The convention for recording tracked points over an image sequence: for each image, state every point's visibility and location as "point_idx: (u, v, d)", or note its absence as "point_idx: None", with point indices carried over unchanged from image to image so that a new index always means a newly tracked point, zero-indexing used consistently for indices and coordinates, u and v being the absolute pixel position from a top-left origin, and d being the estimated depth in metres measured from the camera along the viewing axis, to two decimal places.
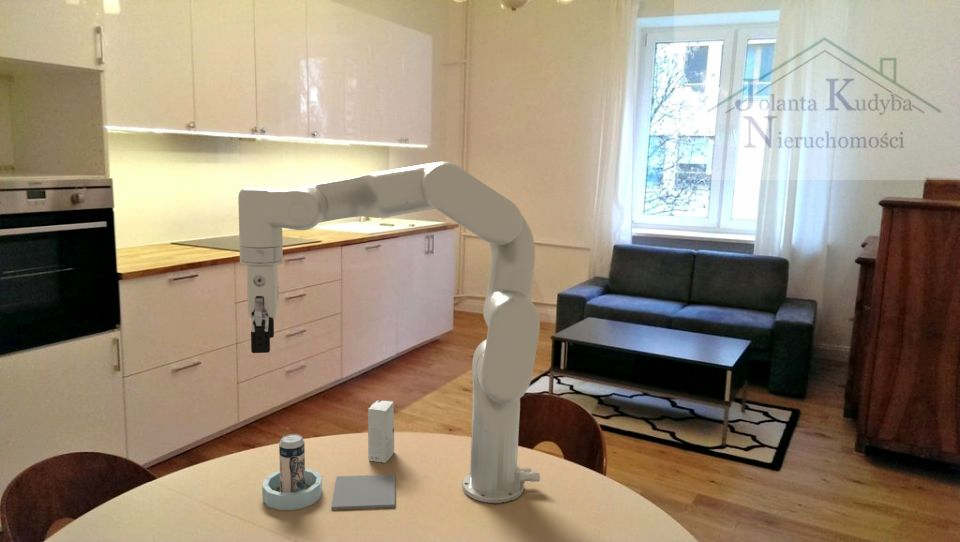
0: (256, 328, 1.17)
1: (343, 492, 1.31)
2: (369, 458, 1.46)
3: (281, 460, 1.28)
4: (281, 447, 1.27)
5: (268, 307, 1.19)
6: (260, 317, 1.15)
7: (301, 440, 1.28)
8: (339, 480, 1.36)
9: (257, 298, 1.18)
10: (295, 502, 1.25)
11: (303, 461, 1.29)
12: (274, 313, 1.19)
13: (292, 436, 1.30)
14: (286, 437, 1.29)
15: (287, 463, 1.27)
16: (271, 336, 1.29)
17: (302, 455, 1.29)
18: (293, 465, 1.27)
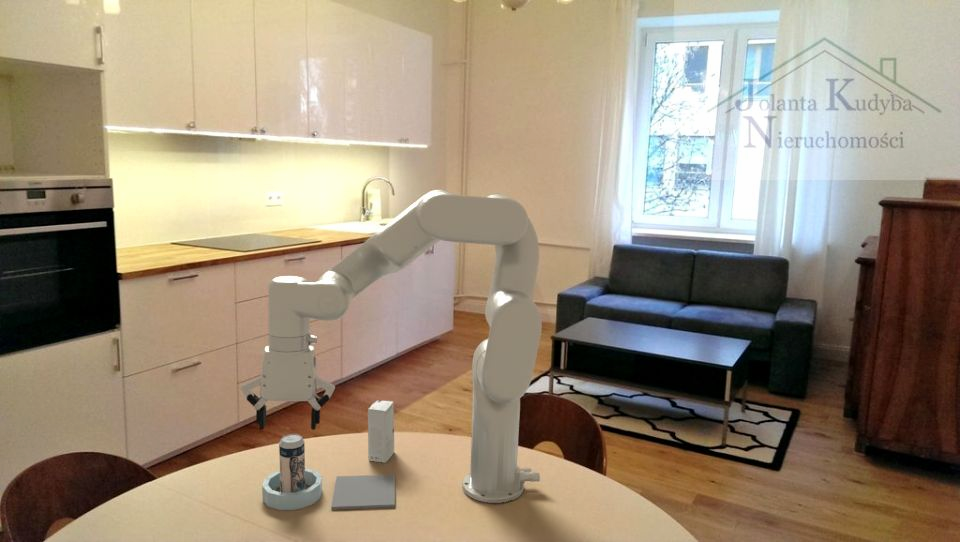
0: (324, 403, 1.28)
1: (343, 492, 1.31)
2: (369, 458, 1.46)
3: (281, 460, 1.28)
4: (281, 447, 1.27)
5: None
6: None
7: (301, 440, 1.28)
8: (339, 480, 1.36)
9: (315, 377, 1.27)
10: (295, 502, 1.25)
11: (303, 461, 1.29)
12: (315, 387, 1.30)
13: (292, 436, 1.30)
14: (286, 437, 1.29)
15: (287, 463, 1.27)
16: (265, 423, 1.29)
17: (302, 455, 1.29)
18: (293, 465, 1.27)
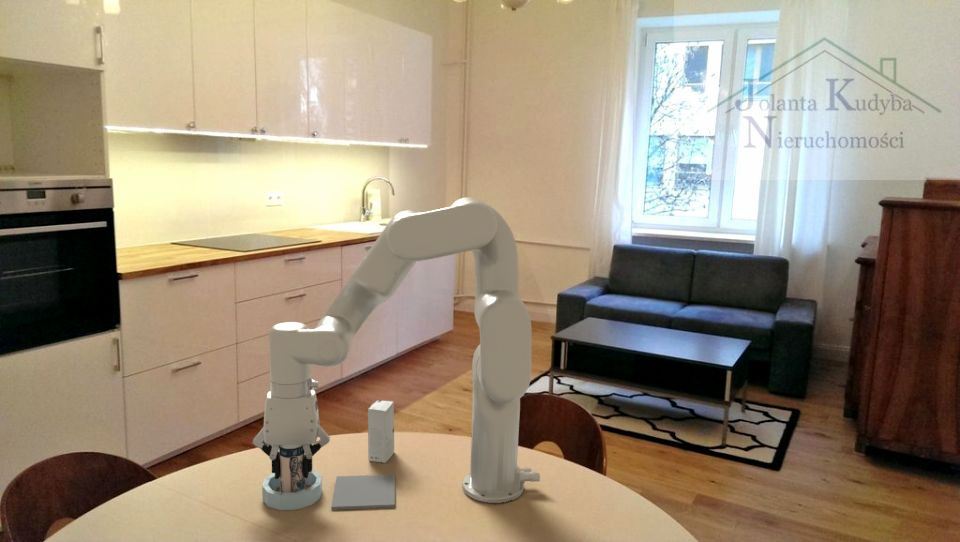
0: None
1: (343, 492, 1.31)
2: (369, 458, 1.46)
3: (281, 460, 1.28)
4: (281, 447, 1.27)
5: None
6: None
7: None
8: (339, 480, 1.36)
9: (317, 424, 1.28)
10: (295, 502, 1.25)
11: None
12: None
13: None
14: None
15: (287, 463, 1.27)
16: None
17: (302, 455, 1.29)
18: (293, 465, 1.27)
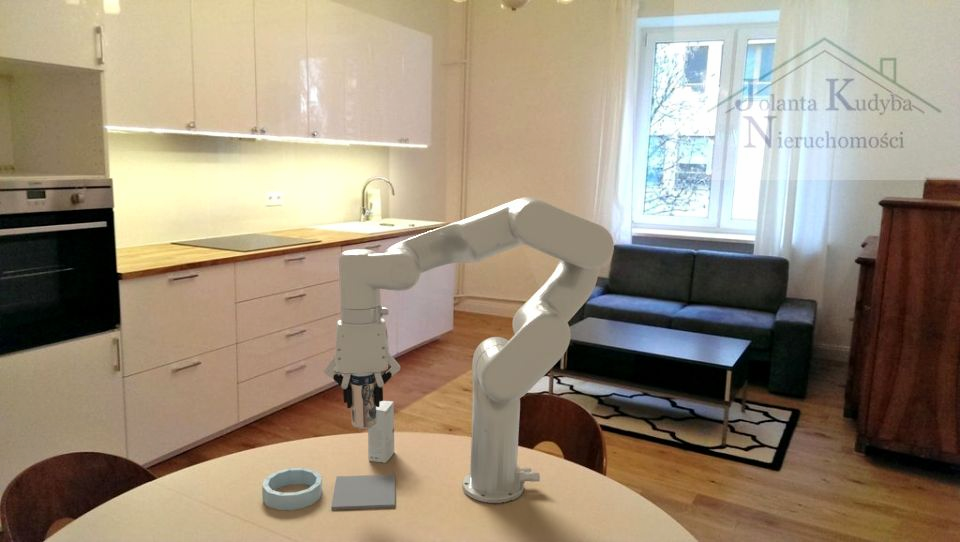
0: None
1: (343, 492, 1.31)
2: (369, 458, 1.46)
3: (353, 388, 1.27)
4: (353, 375, 1.26)
5: None
6: None
7: None
8: (339, 480, 1.36)
9: (387, 352, 1.28)
10: (295, 502, 1.25)
11: (374, 390, 1.28)
12: None
13: None
14: None
15: (359, 391, 1.26)
16: None
17: (373, 383, 1.28)
18: (365, 393, 1.26)
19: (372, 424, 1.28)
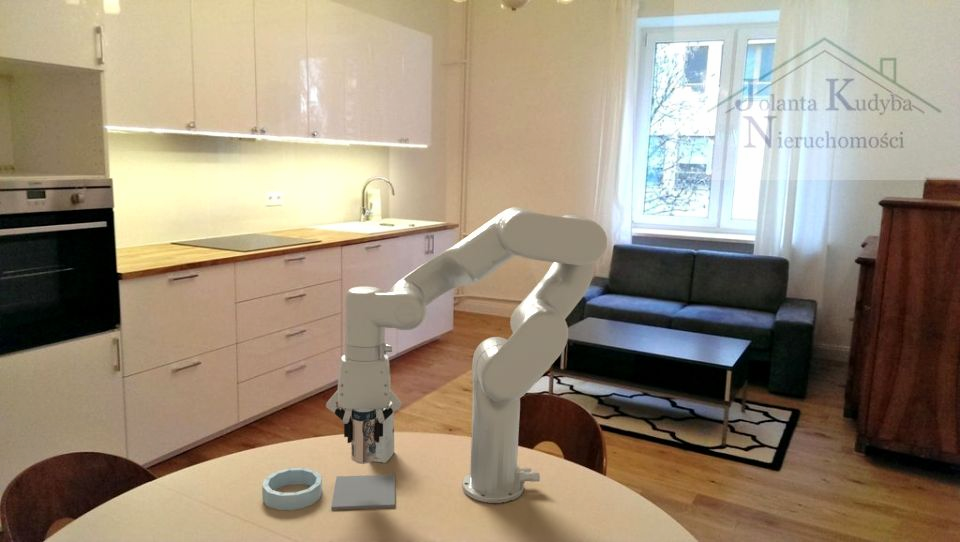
0: (388, 416, 1.30)
1: (343, 492, 1.31)
2: None
3: (354, 424, 1.28)
4: (354, 410, 1.28)
5: None
6: None
7: None
8: (339, 480, 1.36)
9: (389, 389, 1.29)
10: (295, 502, 1.25)
11: (375, 425, 1.30)
12: None
13: None
14: None
15: (360, 426, 1.28)
16: None
17: (374, 419, 1.29)
18: (366, 429, 1.28)
19: (371, 459, 1.30)
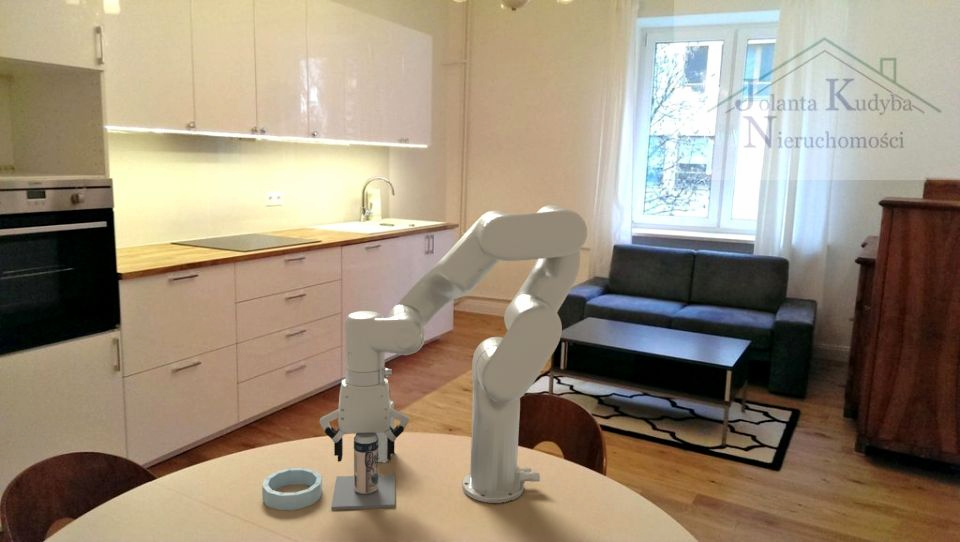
0: None
1: (343, 492, 1.31)
2: None
3: (356, 455, 1.29)
4: (357, 442, 1.29)
5: None
6: None
7: (375, 435, 1.30)
8: (339, 480, 1.36)
9: (390, 409, 1.30)
10: (295, 502, 1.25)
11: (377, 456, 1.31)
12: None
13: None
14: None
15: (362, 458, 1.29)
16: (342, 454, 1.32)
17: (376, 450, 1.30)
18: (368, 460, 1.29)
19: (374, 489, 1.31)
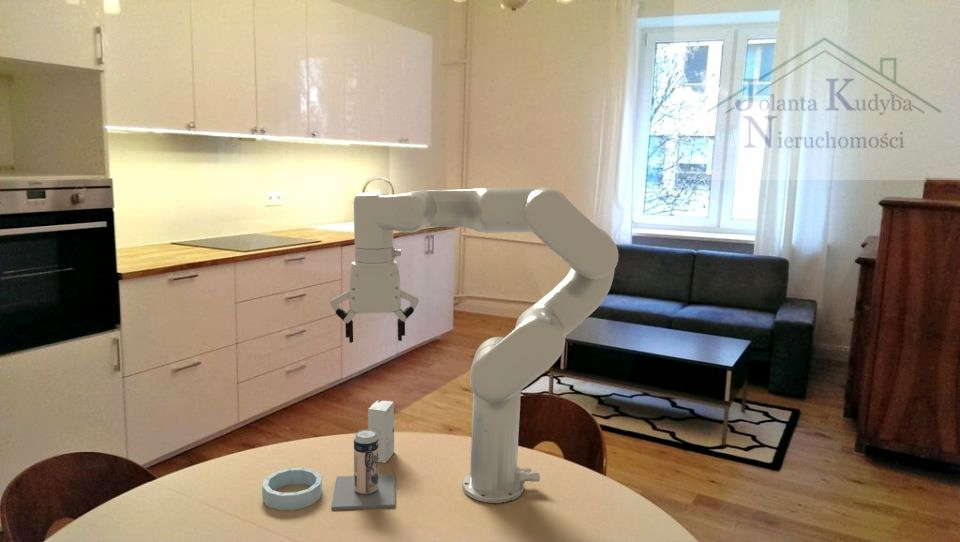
0: (409, 315, 1.33)
1: (343, 492, 1.31)
2: None
3: (356, 455, 1.29)
4: (357, 442, 1.29)
5: None
6: None
7: (375, 435, 1.30)
8: (339, 480, 1.36)
9: (400, 290, 1.31)
10: (295, 502, 1.25)
11: (377, 456, 1.31)
12: None
13: (366, 431, 1.31)
14: (360, 432, 1.31)
15: (362, 458, 1.29)
16: None
17: (376, 450, 1.30)
18: (368, 460, 1.29)
19: (374, 489, 1.31)
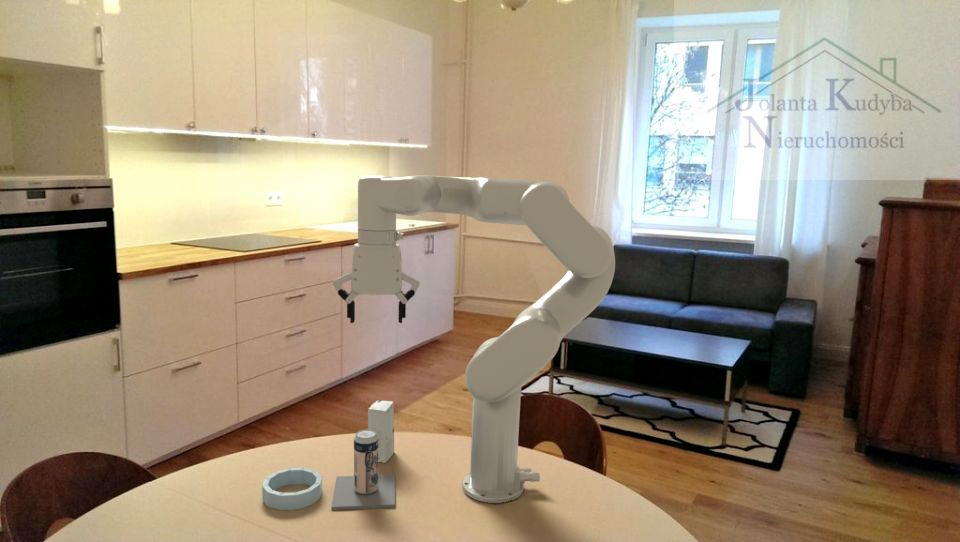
0: (410, 297, 1.34)
1: (343, 492, 1.31)
2: None
3: (356, 455, 1.29)
4: (357, 442, 1.29)
5: None
6: None
7: (375, 435, 1.30)
8: (339, 480, 1.36)
9: (402, 272, 1.33)
10: (295, 502, 1.25)
11: (377, 456, 1.31)
12: None
13: (366, 431, 1.31)
14: (360, 432, 1.31)
15: (362, 458, 1.29)
16: (354, 318, 1.35)
17: (376, 450, 1.30)
18: (368, 460, 1.29)
19: (374, 490, 1.31)
